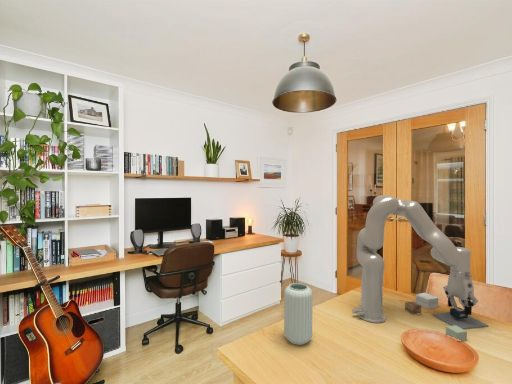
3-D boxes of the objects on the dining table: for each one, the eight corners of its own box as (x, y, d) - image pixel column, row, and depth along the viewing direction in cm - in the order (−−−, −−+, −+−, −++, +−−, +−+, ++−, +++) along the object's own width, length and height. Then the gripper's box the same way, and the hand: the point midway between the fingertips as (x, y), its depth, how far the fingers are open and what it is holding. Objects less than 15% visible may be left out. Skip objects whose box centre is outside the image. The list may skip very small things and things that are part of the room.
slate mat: (459, 329, 119) (459, 328, 119) (432, 315, 133) (432, 313, 133) (488, 326, 122) (488, 325, 122) (459, 312, 136) (459, 311, 136)
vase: (295, 329, 120) (295, 279, 119) (317, 339, 111) (318, 286, 111) (278, 339, 112) (278, 286, 111) (301, 351, 103) (301, 294, 103)
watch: (462, 321, 123) (463, 297, 123) (446, 313, 131) (446, 290, 131) (472, 319, 125) (472, 296, 124) (455, 312, 132) (455, 289, 132)
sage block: (456, 342, 110) (456, 332, 110) (445, 335, 115) (446, 326, 115) (466, 340, 111) (466, 331, 111) (455, 334, 116) (455, 325, 116)
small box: (438, 307, 142) (439, 297, 142) (428, 309, 140) (428, 299, 139) (424, 301, 150) (425, 292, 150) (414, 303, 147) (414, 294, 147)
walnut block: (412, 314, 134) (412, 306, 134) (404, 309, 139) (405, 302, 139) (420, 313, 135) (421, 305, 135) (413, 309, 140) (413, 301, 140)
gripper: (485, 279, 119) (484, 318, 120) (450, 267, 137) (449, 302, 137) (471, 280, 118) (470, 320, 118) (437, 268, 135) (436, 303, 135)
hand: (459, 310), depth 128 cm, fingers closed on watch, 8 cm apart
